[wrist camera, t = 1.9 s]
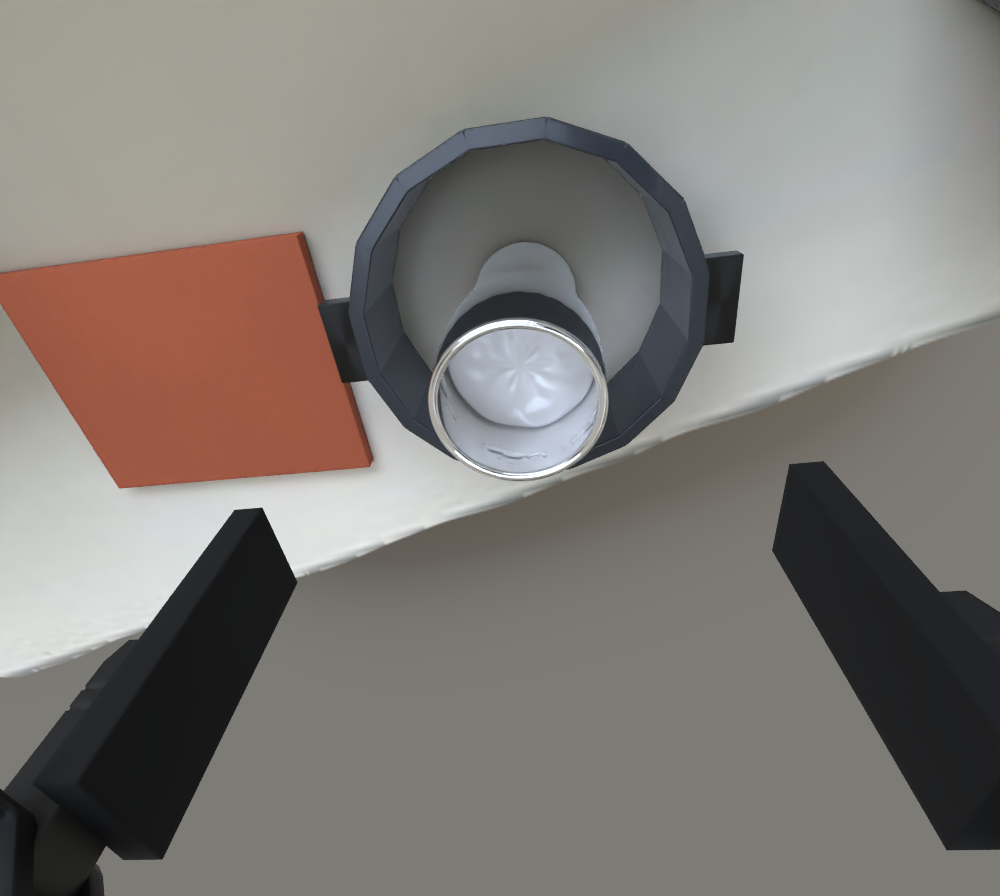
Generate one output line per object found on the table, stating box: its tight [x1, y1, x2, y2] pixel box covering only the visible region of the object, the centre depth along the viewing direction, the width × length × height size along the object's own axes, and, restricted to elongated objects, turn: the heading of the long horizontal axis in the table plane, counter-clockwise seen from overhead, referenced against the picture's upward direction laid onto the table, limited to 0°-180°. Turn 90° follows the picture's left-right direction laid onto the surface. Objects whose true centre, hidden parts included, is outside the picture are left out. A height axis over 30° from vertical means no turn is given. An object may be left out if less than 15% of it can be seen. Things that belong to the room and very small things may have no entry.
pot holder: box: [0, 232, 373, 488], centre depth 35 cm, size 20×16×1 cm
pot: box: [317, 117, 744, 470], centre depth 29 cm, size 21×18×6 cm
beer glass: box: [428, 242, 609, 481], centre depth 25 cm, size 7×7×15 cm
